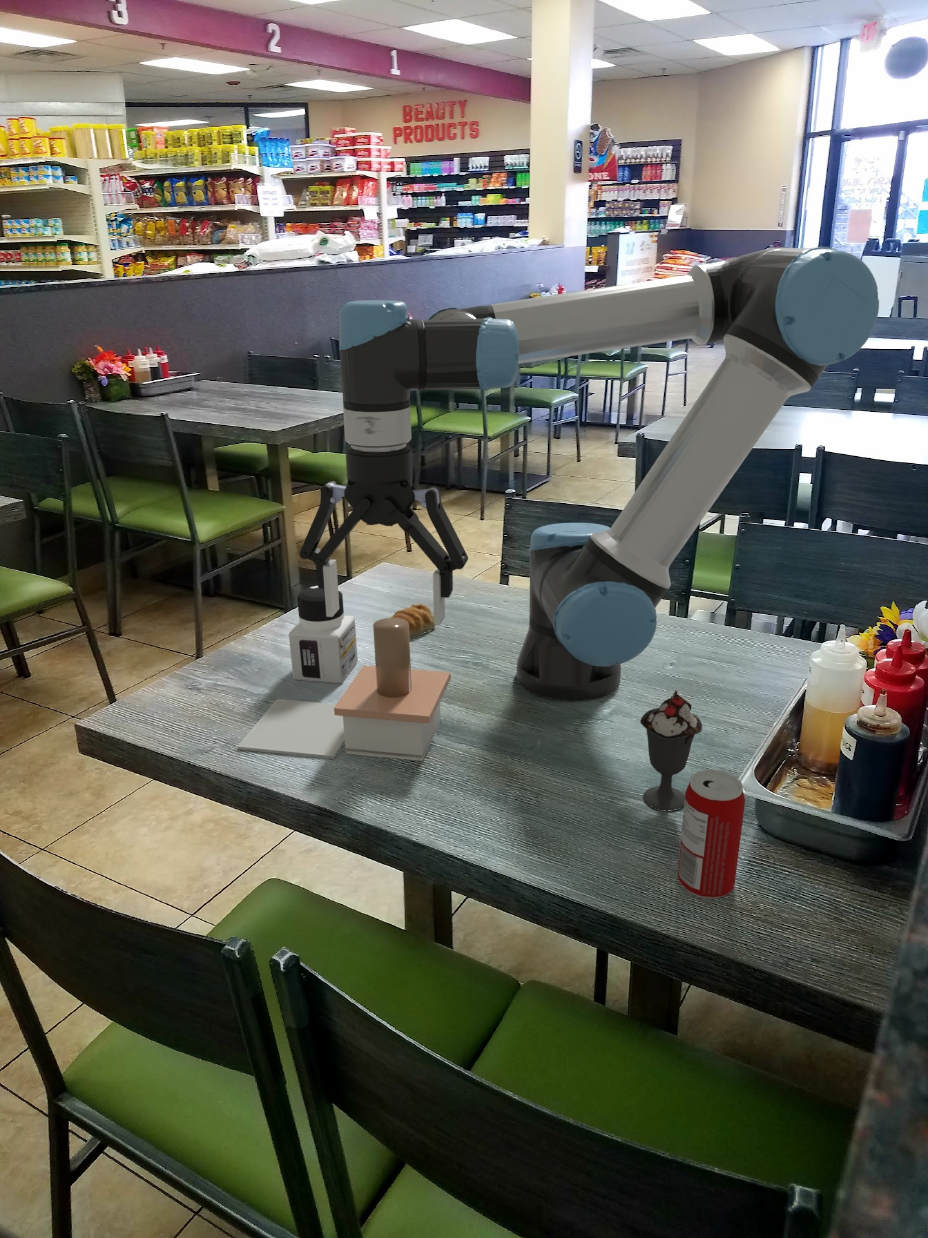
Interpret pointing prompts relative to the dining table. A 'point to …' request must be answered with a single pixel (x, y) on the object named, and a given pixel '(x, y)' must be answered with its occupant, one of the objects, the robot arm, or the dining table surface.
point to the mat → (297, 730)
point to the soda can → (711, 833)
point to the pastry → (417, 619)
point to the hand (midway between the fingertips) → (385, 617)
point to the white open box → (389, 737)
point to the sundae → (669, 748)
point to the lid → (393, 681)
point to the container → (322, 640)
